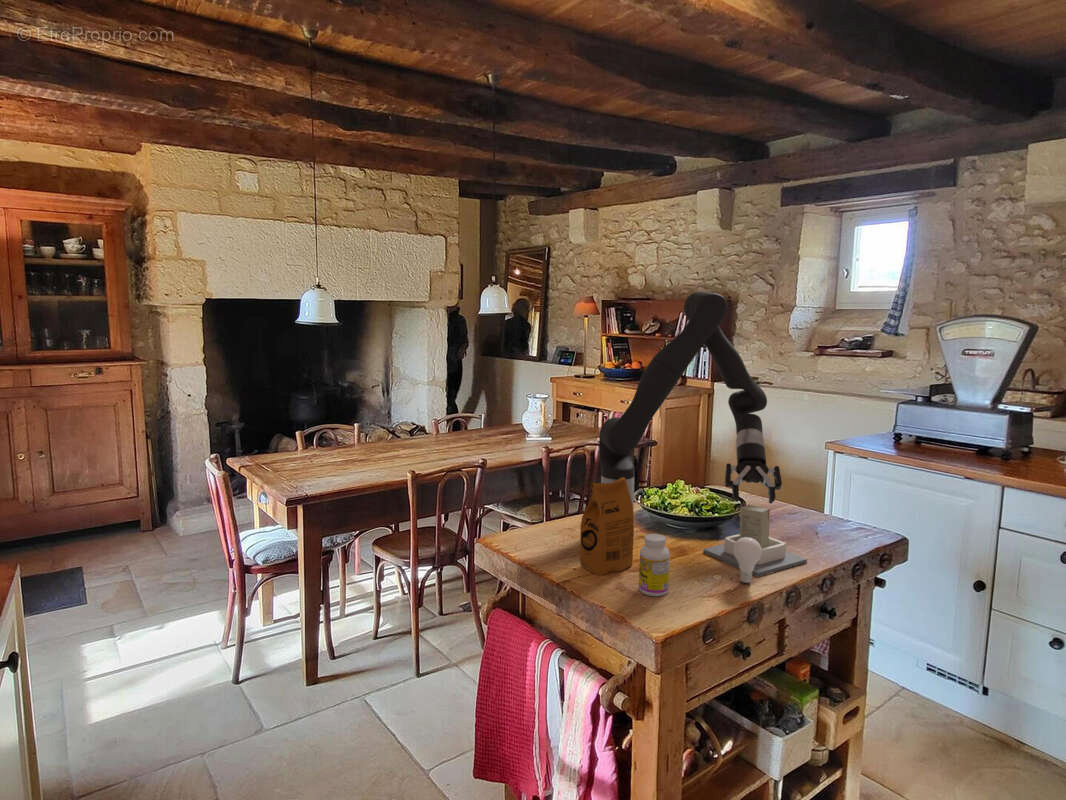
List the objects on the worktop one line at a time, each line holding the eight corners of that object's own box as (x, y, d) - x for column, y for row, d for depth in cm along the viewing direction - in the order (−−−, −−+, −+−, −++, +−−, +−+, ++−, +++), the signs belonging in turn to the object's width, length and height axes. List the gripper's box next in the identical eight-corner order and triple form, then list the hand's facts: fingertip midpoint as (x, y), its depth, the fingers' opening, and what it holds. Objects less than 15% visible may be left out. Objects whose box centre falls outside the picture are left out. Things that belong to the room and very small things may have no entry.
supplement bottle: (635, 585, 152) (637, 532, 151) (663, 584, 153) (665, 531, 151) (642, 598, 146) (644, 542, 144) (672, 597, 146) (674, 542, 145)
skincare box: (768, 554, 169) (771, 508, 167) (760, 559, 166) (763, 512, 164) (745, 548, 174) (748, 503, 172) (737, 552, 170) (739, 506, 169)
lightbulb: (745, 590, 150) (748, 544, 148) (725, 580, 156) (728, 535, 154) (765, 585, 153) (768, 540, 151) (745, 575, 158) (748, 531, 157)
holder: (757, 576, 158) (758, 559, 157) (703, 552, 173) (704, 536, 172) (806, 562, 166) (808, 545, 166) (751, 540, 182) (752, 525, 181)
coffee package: (573, 564, 165) (575, 479, 161) (613, 555, 171) (615, 472, 168) (597, 578, 156) (599, 489, 153) (638, 568, 163) (640, 481, 159)
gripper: (725, 440, 180) (727, 492, 170) (780, 442, 177) (785, 495, 168) (722, 454, 186) (724, 506, 176) (775, 457, 183) (780, 509, 173)
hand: (754, 501), depth 172 cm, fingers open, 8 cm apart
